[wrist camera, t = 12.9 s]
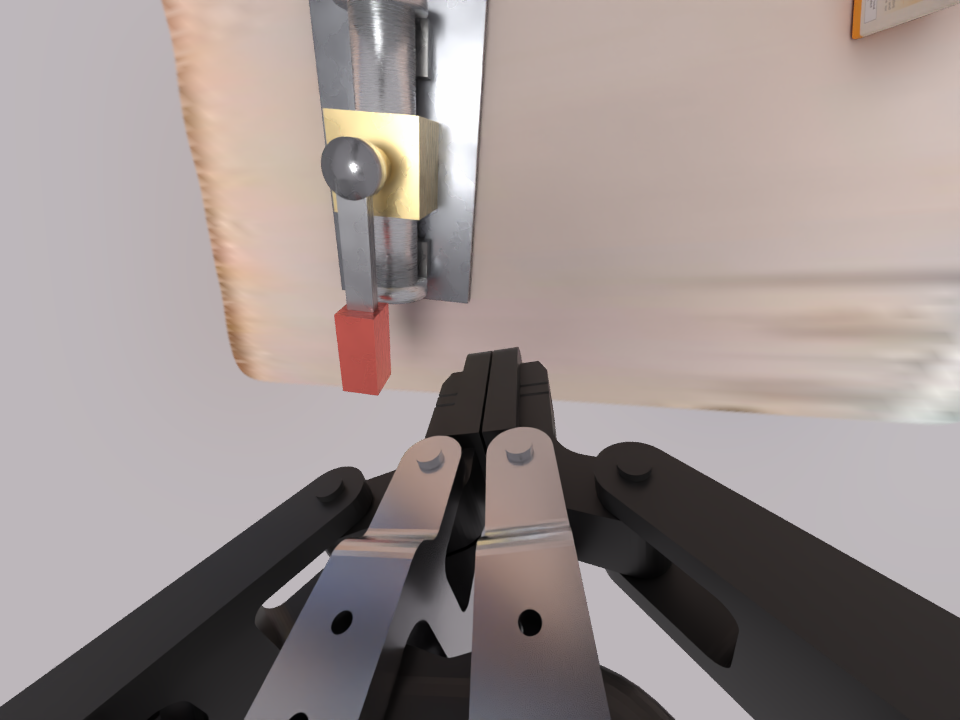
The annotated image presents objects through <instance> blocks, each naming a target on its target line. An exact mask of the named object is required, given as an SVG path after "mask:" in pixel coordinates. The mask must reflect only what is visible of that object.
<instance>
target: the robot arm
mask: <svg viewBox="0 0 960 720" xmlns="http://www.w3.org/2000/svg"><path fill="white" fill-rule="evenodd" d="M554 421H555V420H554V411H553V405H552V399H551V392H550V386H549V380H548V374H547V370H546V368H545V367H544V366H543V365H542V364H541V363H540V362H539V361H535V362H528V363H522V359H521V354H520V350H519V347H514V348H508V349H501V350H494V351H488V352H481V353H474V354H468V355H467V358H466V362H465V366H464V370H463V372H457V373H452V374H451V376H450V377H449V378H448V379H447V380H446V381H445V382H444V383H443V385H442V388H441V391H440V394H439V398H438V400H437V403H436V408H435V409H434V412H433V415H432V418H431V421H430V424H429V428H428V430H427V434H426V436H425V439H423V440H421V441H419V442H417V443H416V444H414V445H413V446H412V447H410V448H409V449H408V450H407V451H406V452H405V454H404V455H403V457H402V458H401V461H400V463H399V465H398V467H397V469H396V470H394V471H392V472H389V473H386V474H383V475H380V476H377V477H374V478H372V479H369V480H365V478H364V476H363V474H362V472H361V471H360V470H359V469H357V468H354V467H340V468H337V469H333V470H331V471H328V472H327V473H325V474H323V475H321V476H320V477H318V478H317V479H316V480H314V481H313V482H311V483H310V484H309V485H307V486H306V487H304V488H303V489H302V490H300V491H299V492H297V493H296V494H295V495H293V496H292V497H291V498H289V499H288V500H286V501H285V502H284V503H282V504H281V505H279V506H278V507H277V508H275V509H274V510H273V511H271V512H270V513H268V514H267V515H266V516H264V517H263V518H262V519H260V520H259V521H258V522H256V523H255V524H253V525H252V526H250V527H249V528H248V529H246V530H245V531H243V532H242V533H241V534H239V535H238V536H237V537H235V538H234V539H232V540H231V541H230V542H228V543H227V544H225V545H224V546H223V547H221V548H220V549H219V550H217V551H216V552H215V553H213V554H212V555H210V556H209V557H207V558H206V559H205V560H203V561H202V562H201V563H199V564H198V565H196V566H195V567H194V568H192V569H191V570H190V571H188V572H187V573H185V574H184V575H182V576H181V577H180V578H178V579H177V580H176V581H174V582H173V583H171V584H170V585H169V586H167V587H166V588H164V589H163V590H162V591H160V592H159V593H158V594H156V595H155V596H153V597H152V598H151V599H149V600H148V601H146V602H145V603H144V604H142V605H141V606H140V607H138V608H137V609H136V610H134V611H133V612H131V613H130V614H128V615H127V616H126V617H124V618H123V619H122V620H120V621H119V622H117V623H116V624H115V625H113V626H112V627H110V628H109V629H108V630H106V631H105V632H103V633H102V634H101V635H99V636H98V637H97V638H95V639H94V640H92V641H91V642H90V643H88V644H87V645H85V646H84V647H83V648H81V649H80V650H79V651H77V652H76V653H74V654H73V655H72V656H70V657H69V658H68V659H66V660H65V661H63V662H62V663H61V664H59V665H58V666H56V667H55V668H54V669H52V670H51V671H49V672H48V673H47V674H45V675H44V676H43V677H41V678H40V679H38V680H37V681H36V682H34V683H33V684H31V685H30V686H29V687H27V688H26V689H25V690H23V691H22V692H20V693H19V694H18V695H16V696H15V697H13V698H12V699H11V700H9V701H8V702H6V703H5V704H4V705H2V706H1V707H0V720H675V719H674V718H673V717H672V716H671V715H670V714H669V713H668V712H667V711H666V710H665V709H664V708H663V707H662V706H661V705H660V704H659V703H658V702H657V701H656V700H655V699H653V698H652V697H651V696H650V695H649V694H647V693H646V692H645V691H644V690H642V689H641V688H640V687H639V686H637V685H636V684H634V683H633V682H631V681H629V680H628V679H626V678H625V677H623V676H622V675H620V674H618V673H616V672H614V671H612V670H610V669H608V668H606V667H604V666H601V665H600V664H599V660H598V655H597V650H596V645H595V640H594V635H593V631H592V626H591V621H590V616H589V611H588V607H587V602H586V597H585V592H584V587H583V582H582V578H581V573H580V568H579V563H578V561H582V562H585V563H588V564H592V565H595V566H598V567H602V568H605V569H606V571H607V573H608V575H609V576H610V578H611V579H612V580H613V581H614V582H615V583H616V584H617V585H618V586H619V587H620V588H621V589H622V590H623V591H624V592H625V593H626V594H627V595H628V596H629V597H630V598H631V599H632V600H633V601H634V602H635V603H636V604H637V605H639V607H640V608H641V609H642V610H644V612H645V613H646V614H647V615H648V616H650V617H651V618H652V619H653V620H654V621H655V622H656V623H657V624H658V625H659V626H660V627H661V628H662V629H663V630H664V631H665V632H666V633H667V634H668V635H669V636H670V637H671V638H672V639H673V640H674V641H675V642H676V643H677V644H678V645H679V646H680V647H681V648H682V649H683V650H684V651H685V652H686V653H687V654H688V655H689V656H690V657H691V658H692V659H693V660H694V661H695V662H696V663H697V664H698V665H699V666H700V667H701V668H702V669H703V670H705V671H706V672H707V673H708V674H709V675H710V676H711V677H712V678H713V679H714V680H715V681H716V682H717V683H718V684H719V685H720V686H721V687H722V688H723V689H724V690H725V691H726V692H727V693H728V694H729V695H730V696H731V697H732V698H733V699H734V700H735V701H736V702H737V703H738V704H739V705H740V706H741V707H742V708H743V709H744V710H745V711H746V712H747V713H748V714H749V715H750V716H752V717H753V719H755V720H960V618H959V617H957V616H955V615H954V614H952V613H950V612H948V611H946V610H945V609H943V608H941V607H939V606H937V605H936V604H934V603H932V602H930V601H928V600H927V599H925V598H923V597H921V596H920V595H918V594H916V593H914V592H913V591H911V590H909V589H907V588H905V587H904V586H902V585H900V584H898V583H896V582H895V581H893V580H891V579H889V578H887V577H886V576H884V575H882V574H880V573H879V572H877V571H875V570H873V569H871V568H870V567H868V566H866V565H864V564H863V563H861V562H859V561H857V560H856V559H854V558H852V557H850V556H849V555H847V554H845V553H843V552H841V551H839V550H838V549H836V548H834V547H832V546H831V545H829V544H827V543H825V542H824V541H822V540H820V539H818V538H816V537H815V536H813V535H811V534H809V533H808V532H806V531H804V530H802V529H800V528H799V527H797V526H795V525H793V524H792V523H790V522H788V521H786V520H784V519H783V518H781V517H779V516H777V515H776V514H774V513H772V512H770V511H768V510H766V509H765V508H763V507H761V506H759V505H758V504H756V503H754V502H752V501H751V500H749V499H747V498H745V497H743V496H742V495H740V494H738V493H736V492H735V491H733V490H731V489H729V488H727V487H726V486H724V485H722V484H720V483H718V482H717V481H715V480H713V479H711V478H710V477H708V476H706V475H704V474H702V473H700V472H699V471H697V470H695V469H694V468H692V467H690V466H688V465H686V464H685V463H683V462H681V461H679V460H678V459H676V458H674V457H672V456H670V455H669V454H667V453H665V452H663V451H662V450H660V449H658V448H655V447H654V446H651V445H648V444H644V443H639V442H623V443H617V444H614V445H611V446H609V447H607V448H605V449H604V450H603V451H601V452H600V453H599V455H598V456H597V457H594V456H588V455H582V454H578V453H575V452H572V451H570V450H568V449H566V448H565V447H563V446H562V445H561V444H560V443H559V442H558V441H557V438H556V429H555V422H554ZM324 551H326V552H327V554H328V555H329V557H330V558H329V560H328V562H327V564H326V566H325V568H324V569H322V570H321V571H320V572H319V573H318V574H317V575H316V576H314V577H313V578H312V579H311V580H310V581H309V582H308V583H307V584H305V585H304V586H303V587H302V588H301V589H300V590H299V591H297V592H296V593H295V594H294V595H293V596H292V597H290V598H289V599H288V600H287V601H286V602H285V603H283V604H282V605H280V606H278V607H275V608H271V609H268V608H264V607H263V606H262V604H263V603H264V602H265V601H266V600H267V599H268V598H269V597H271V596H272V595H273V594H274V593H275V592H277V591H278V590H279V589H280V588H281V587H283V586H284V585H285V584H286V583H287V582H288V581H289V580H291V579H292V578H293V577H294V576H295V575H297V574H298V573H299V572H300V571H301V570H303V569H304V568H305V567H306V566H307V565H308V564H310V563H311V562H312V561H313V560H314V559H315V558H317V557H318V556H319V555H320V554H321V553H323V552H324Z"/></svg>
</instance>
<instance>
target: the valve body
mask: <svg viewBox="0 0 960 720" xmlns="http://www.w3.org/2000/svg"><path fill="white" fill-rule="evenodd" d="M309 6H310V15H311V23H312V32H313V41H314V49H315V58H316V67H317V75H318V84H319V93H320V101H321V110H322V119H323V127H324V136H325V145H327V144H328V143H329V142H330V141H331V140H333V139H335V138H337V137H342V136H344V137H358V138H363V139H366V140H368V141H369V142H371V143H372V144H373V145H375V146H376V148H377V149H378V150H379V151H380V153H381V154H382V156H383V159H384V161H385V165H386V180H385V183H384V186H383V187H382V189H381V190H380V191H379V192H378V193H377V194H376V195H374V196H373V213H374V232H375V251H376V270H377V289H378V302H382V303H388V304H404V303H410V302H415V301H418V300H420V299H422V298H423V299H432V300H441V301H450V302H459V303H468V301H469V292H470V276H471V260H472V244H473V228H474V212H475V197H476V181H477V165H478V149H479V133H480V117H481V101H482V85H483V69H484V53H485V38H486V22H487V6H488V0H309ZM331 197H332V206H333V214H334V223H335V232H336V240H337V249H338V258H339V266H340V275H341V284H342V290H345V281H344V271H343V260H342V250H341V240H340V230H339V220H338V209H337V199H336V193H334V192H333V191H332V190H331Z"/></svg>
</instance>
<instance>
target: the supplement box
mask: <svg viewBox="0 0 960 720" xmlns="http://www.w3.org/2000/svg"><path fill="white" fill-rule="evenodd" d="M959 3H960V0H854V14H853V32H852V38H853V39H858V38H862V37H865V36H868V35H870V34H873V33H876V32H879V31H882V30H885V29H888V28H891V27H894V26H897V25H900V24H902V23H905V22H908V21H911V20H914V19H917V18H920V17H923V16H925V15H928V14H930V13H933V12H936V11H939V10H942V9H945V8H947V7H950V6H953V5H956V4H959Z"/></svg>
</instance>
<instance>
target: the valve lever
mask: <svg viewBox="0 0 960 720" xmlns="http://www.w3.org/2000/svg"><path fill="white" fill-rule="evenodd" d="M321 168H322V173H323V176H324V178H325V181H326V182H327V184H328V186H329V187H330V188H331V190H332V191H333V192H334V193H336V199H337V209H338V220H339V230H340V240H341V250H342V260H343V271H344V281H345V291H346V301H347V304H346V305H345V306H344V307H343V308H342V309H341V310H339V311H338V312H337V313H336V314H335V315H334V317H335V325H336V334H337V342H338V351H339V359H340V368H341V376H342V385H343V391H348V392H356V393H363V394H370V395H379V393H380V391H381V390H382V388H383V386H384V385H385V383H386V381H387V380H388V378H389V376H390V375H391V362H390V337H389V311H388V303H382V302H378V289H377V270H376V251H375V232H374V213H373V196H374V195H376V194H377V193H378V192H379V191H380V190H381V189H382V187H383V186H384V183H385V180H386V165H385V161H384V159H383V156H382V154H381V153H380V151H379V150H378V149H377V148H376V146H375V145H373V144H372V143H371V142H369V141H368V140H366V139H363V138H358V137H344V136H342V137H337V138H335V139H333V140H331V141H330V142H329V143H328V144H327V145H326V147H325V149H324V151H323V153H322V158H321Z"/></svg>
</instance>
